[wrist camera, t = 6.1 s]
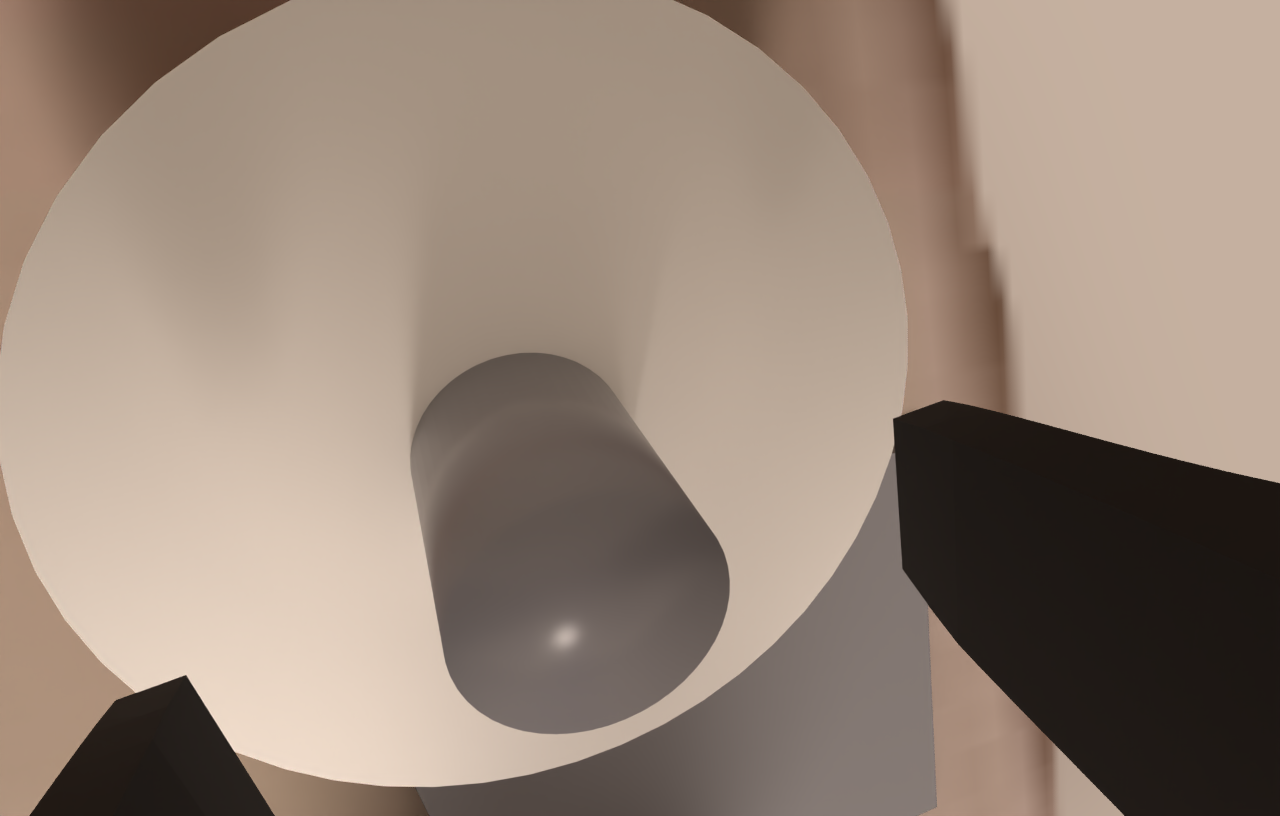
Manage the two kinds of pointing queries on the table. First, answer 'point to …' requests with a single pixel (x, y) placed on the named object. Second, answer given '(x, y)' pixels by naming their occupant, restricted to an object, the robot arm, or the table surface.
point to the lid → (452, 379)
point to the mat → (776, 718)
